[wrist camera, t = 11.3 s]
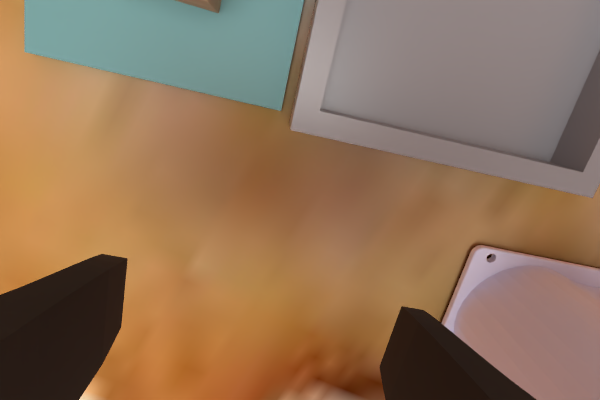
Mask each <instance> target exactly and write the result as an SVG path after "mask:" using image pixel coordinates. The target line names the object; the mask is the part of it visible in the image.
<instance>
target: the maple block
mask: <svg viewBox="0 0 600 400" xmlns="http://www.w3.org/2000/svg"><path fill="white" fill-rule="evenodd" d="M175 1H179V2H182V3H185V4H189V5H192V6H195V7H199V8H202V9H205V10H209V11H212V12H215V13H219V10H220V5H221V0H175Z"/></svg>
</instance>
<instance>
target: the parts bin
mask: <svg viewBox="0 0 600 400" xmlns="http://www.w3.org/2000/svg"><path fill="white" fill-rule="evenodd" d="M289 125H290V130H293V131H297V132H301V133H306V134H310V135H315V136H319V137H324V138H328V139H332V140H337V141H341V142H346V143H350V144H355V145H359V146H364V147H368V148H372V149H377V150H381V151H386V152H390V153H395V154H399V155H404V156H408V157H412V158H417V159H421V160H426V161H430V162H435V163H439V164H443V165H448V166H452V167H457V168H461V169H466V170H470V171H475V172H479V173H483V174H488V175H492V176H497V177H501V178H506V179H510V180H515V181H519V182H523V183H528V184H532V185H537V186H541V187H546V188H550V189H555V190H559V191H563V192H568V193H572V194H577V195H581V196H586V197H590V198H593V196H594V194H595V192H596V190H597V188H598V186H599V184H600V0H316V1H315V6H314V11H313V15H312V20H311V24H310V29H309V34H308V38H307V43H306V48H305V52H304V57H303V61H302V66H301V71H300V75H299V80H298V85H297V89H296V94H295V98H294V103H293V108H292V112H291V117H290V122H289Z"/></svg>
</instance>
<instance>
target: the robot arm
mask: <svg viewBox="0 0 600 400" xmlns="http://www.w3.org/2000/svg"><path fill="white" fill-rule="evenodd" d="M489 254H492V256H491V257H490V258H489V259H486V258H487V256H488V255H489ZM126 269H127V258H122V257H116V256H110V255H105V254H101V255H98V256H95V257H92V258H89V259H87V260H84V261H82V262H80V263H77V264H75V265H72V266H70V267H68V268H65V269H63V270H61V271H58V272H56V273H54V274H51V275H49V276H46V277H44V278H42V279H39V280H37V281H34V282H32V283H30V284H27V285H25V286H22V287H20V288H17V289H15V290H12V291H9V292H7V293H4V294H1V295H0V400H79V399H80V397H81V396H82V394H83V393H84V391H85V390H86V388H87V387H88V385H89V384H90V382H91V381H92V379H93V378H94V376H95V375H96V373H97V371H98V370H99V368H100V367H101V365H102V364H103V362H104V360H105V358H106V356H107V354H108V352H109V350H110V348H111V346H112V344H113V342H114V340H115V338H116V336H117V334H118V332H119V330H120V328H121V322H122V312H123V301H124V290H125V279H126ZM380 372H381V378H382V384H383V389H384V394H385V399H386V400H600V269H599V268H594V267H589V266H584V265H579V264H574V263H569V262H564V261H559V260H554V259H549V258H544V257H539V256H534V255H529V254H524V253H519V252H514V251H509V250H504V249H499V248H494V247H489V246H484V245H478V246H476V247H474V248H473V249H472V251H471V252H470V255H469V257H468V260H467V262H466V265H465V267H464V269H463V272H462V274H461V277H460V279H459V282H458V284H457V287H456V289H455V291H454V294H453V296H452V299H451V301H450V304H449V306H448V308H447V311H446V313H445V316H444V318H443V321H442V323H440V322H439V321H438V320H436V319H435V318H434V317H432V316H431V315H430V314H428V313H427V312H425V311H424V310H420V309H414V308H408V307H403V306H402V307H401V310H400V312H399V315H398V318H397V321H396V323H395V326H394V329H393V331H392V334H391V337H390V340H389V342H388V345H387V348H386V351H385V353H384V356H383V359H382V362H381V364H380Z"/></svg>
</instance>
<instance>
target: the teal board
mask: <svg viewBox="0 0 600 400" xmlns="http://www.w3.org/2000/svg"><path fill="white" fill-rule="evenodd" d="M303 3H304V0H221V5H220V10H219V13H215V12H212V11H209V10H205V9H202V8H199V7H195V6H192V5H189V4H185V3H182V2H179V1H175V0H25V52H27V53H32V54H36V55H40V56H45V57H49V58H53V59H58V60H62V61H66V62H71V63H75V64H79V65H84V66H88V67H92V68H97V69H101V70H105V71H110V72H114V73H118V74H123V75H127V76H131V77H136V78H140V79H144V80H149V81H153V82H157V83H162V84H166V85H170V86H175V87H179V88H183V89H188V90H192V91H196V92H201V93H205V94H209V95H214V96H218V97H222V98H227V99H231V100H235V101H240V102H244V103H248V104H253V105H257V106H261V107H266V108H270V109H274V110H279V111H281V109H282V104H283V99H284V94H285V89H286V84H287V80H288V75H289V70H290V65H291V60H292V56H293V51H294V46H295V41H296V36H297V31H298V27H299V22H300V17H301V12H302V7H303Z"/></svg>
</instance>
